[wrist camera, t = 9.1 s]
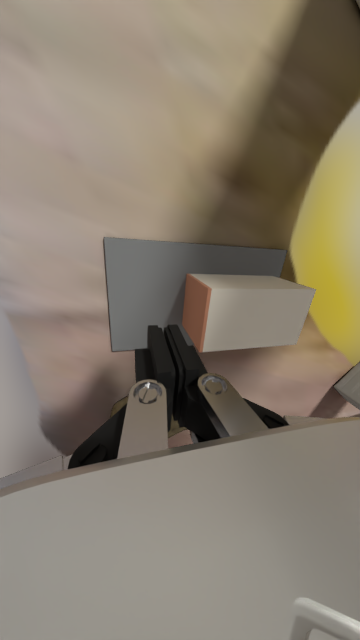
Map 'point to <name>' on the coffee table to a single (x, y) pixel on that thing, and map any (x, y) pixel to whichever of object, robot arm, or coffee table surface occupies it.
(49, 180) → the coffee table surface
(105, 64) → the coffee table surface
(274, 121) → the coffee table surface
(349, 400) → the skincare box
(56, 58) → the coffee table surface
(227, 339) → the cream rectangular block
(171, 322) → the rubber mat
